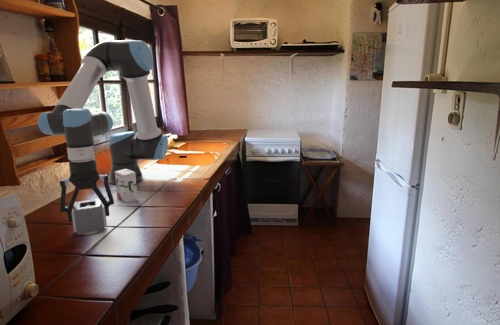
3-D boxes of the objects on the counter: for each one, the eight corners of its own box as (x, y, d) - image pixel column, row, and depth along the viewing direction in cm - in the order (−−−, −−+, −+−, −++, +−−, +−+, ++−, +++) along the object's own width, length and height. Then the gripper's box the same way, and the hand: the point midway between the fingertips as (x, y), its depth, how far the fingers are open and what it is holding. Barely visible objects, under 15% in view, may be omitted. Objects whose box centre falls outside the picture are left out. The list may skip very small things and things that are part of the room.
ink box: (116, 198, 140) (113, 170, 137) (127, 195, 143) (125, 168, 140) (127, 203, 134) (124, 174, 131) (138, 200, 138) (135, 172, 135)
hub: (78, 228, 111) (74, 204, 109) (101, 224, 115) (98, 200, 113) (80, 237, 106) (77, 211, 103) (104, 231, 109) (101, 207, 107)
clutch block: (77, 225, 112) (74, 202, 110) (103, 220, 115) (100, 198, 113) (76, 234, 105) (73, 210, 103) (104, 229, 108) (102, 206, 106)
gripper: (41, 165, 97) (52, 238, 102) (119, 158, 105) (126, 226, 111) (44, 160, 104) (55, 229, 109) (117, 154, 112) (124, 218, 117)
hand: (90, 227), depth 110 cm, fingers closed on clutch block, 8 cm apart
